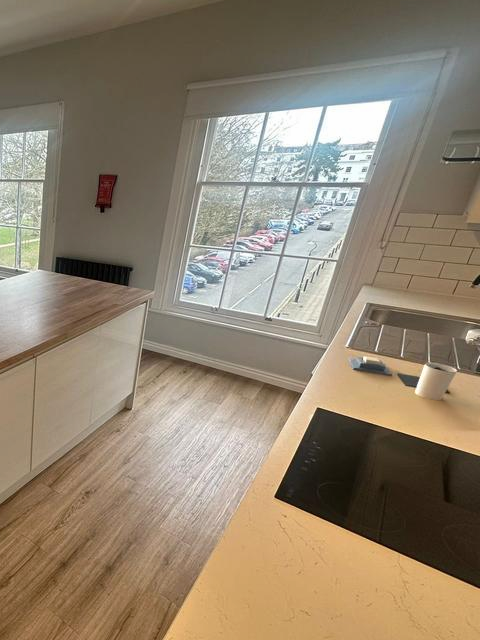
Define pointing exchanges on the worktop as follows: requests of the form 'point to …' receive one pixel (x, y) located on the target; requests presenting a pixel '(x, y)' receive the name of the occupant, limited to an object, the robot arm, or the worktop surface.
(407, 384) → the coaster
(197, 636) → the worktop surface
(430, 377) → the white mug
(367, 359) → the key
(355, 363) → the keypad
